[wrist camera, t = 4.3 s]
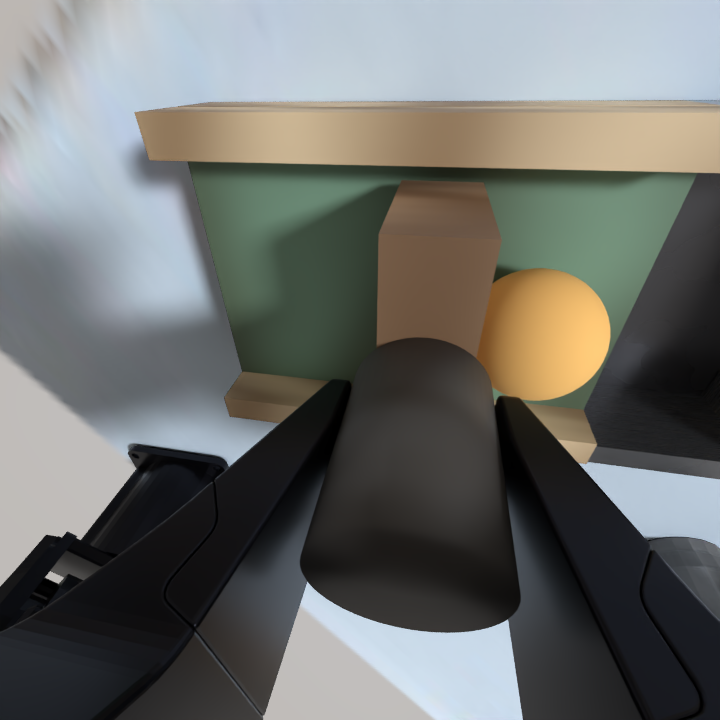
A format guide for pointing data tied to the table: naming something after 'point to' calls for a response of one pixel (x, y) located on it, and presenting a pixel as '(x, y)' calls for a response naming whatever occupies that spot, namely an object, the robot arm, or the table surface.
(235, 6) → the table surface
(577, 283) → the ball
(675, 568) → the beverage cup
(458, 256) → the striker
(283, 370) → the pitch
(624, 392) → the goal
